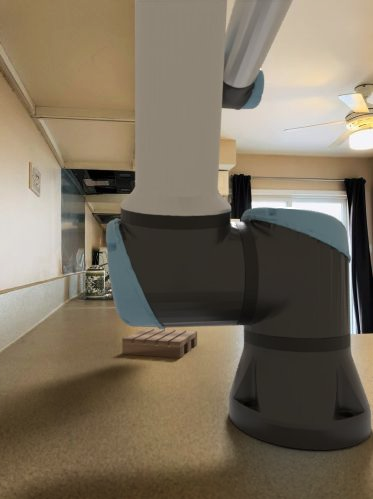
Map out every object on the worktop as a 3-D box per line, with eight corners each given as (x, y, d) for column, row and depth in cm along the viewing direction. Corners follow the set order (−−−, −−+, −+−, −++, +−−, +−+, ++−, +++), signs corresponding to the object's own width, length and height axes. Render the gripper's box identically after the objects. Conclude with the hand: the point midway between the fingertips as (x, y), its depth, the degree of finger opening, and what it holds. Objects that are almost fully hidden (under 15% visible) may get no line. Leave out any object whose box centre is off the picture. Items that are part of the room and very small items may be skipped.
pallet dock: (180, 358, 68) (180, 341, 69) (122, 353, 72) (122, 338, 72) (197, 344, 80) (197, 330, 80) (146, 341, 83) (146, 328, 84)
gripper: (209, 152, 79) (210, 259, 78) (128, 160, 84) (128, 260, 83) (200, 141, 71) (201, 259, 70) (112, 150, 77) (112, 260, 76)
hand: (161, 259), depth 77 cm, fingers closed on travel mug, 6 cm apart
